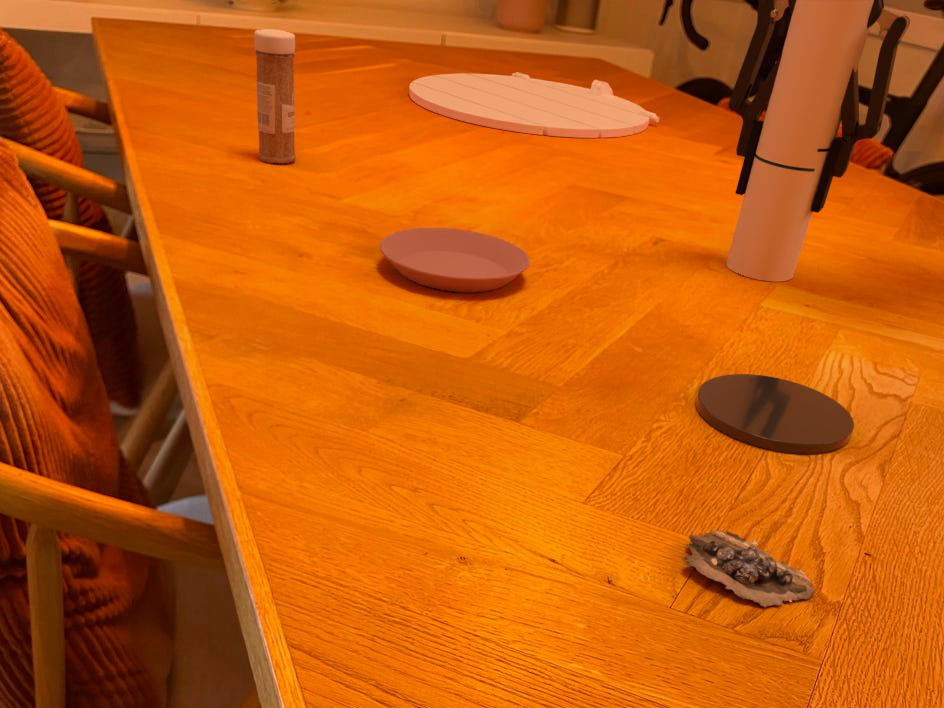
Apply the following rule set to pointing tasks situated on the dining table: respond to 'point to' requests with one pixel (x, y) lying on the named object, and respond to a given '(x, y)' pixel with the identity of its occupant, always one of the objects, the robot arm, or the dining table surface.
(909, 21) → the robot arm
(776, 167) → the cylindrical container
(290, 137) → the sprinkles bottle
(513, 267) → the plate
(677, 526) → the dining table surface
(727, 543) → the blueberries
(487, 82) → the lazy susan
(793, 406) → the coaster
